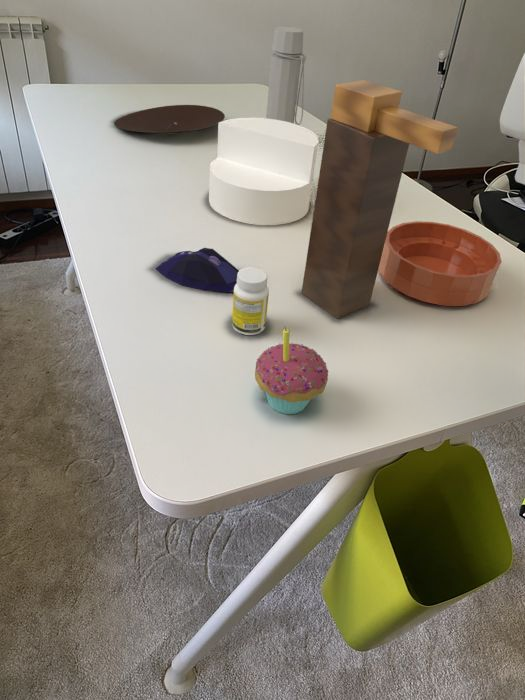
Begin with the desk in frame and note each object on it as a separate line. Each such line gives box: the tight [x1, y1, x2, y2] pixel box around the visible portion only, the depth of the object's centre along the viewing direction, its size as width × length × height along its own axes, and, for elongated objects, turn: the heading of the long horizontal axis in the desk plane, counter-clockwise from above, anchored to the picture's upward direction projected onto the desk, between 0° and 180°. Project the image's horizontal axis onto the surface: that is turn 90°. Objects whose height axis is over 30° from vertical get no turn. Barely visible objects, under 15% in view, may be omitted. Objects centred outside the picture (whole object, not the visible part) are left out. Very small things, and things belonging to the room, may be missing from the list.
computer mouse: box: [155, 247, 240, 294], centre depth 86 cm, size 9×15×4 cm, turn 65°
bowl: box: [378, 220, 502, 307], centre depth 90 cm, size 18×18×6 cm
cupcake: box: [254, 324, 329, 415], centre depth 63 cm, size 9×8×12 cm
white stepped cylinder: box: [208, 117, 319, 226], centre depth 106 cm, size 20×20×13 cm
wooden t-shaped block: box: [330, 79, 459, 155], centre depth 65 cm, size 15×6×4 cm, turn 43°
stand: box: [301, 117, 410, 320], centre depth 76 cm, size 8×7×26 cm
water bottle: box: [265, 26, 307, 126], centre depth 132 cm, size 9×8×25 cm
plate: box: [113, 104, 226, 135], centre depth 140 cm, size 28×28×4 cm
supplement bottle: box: [231, 266, 270, 336], centre depth 75 cm, size 5×5×8 cm
